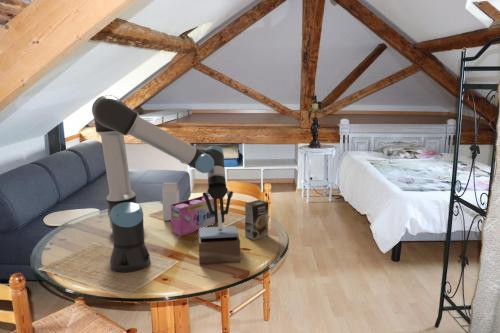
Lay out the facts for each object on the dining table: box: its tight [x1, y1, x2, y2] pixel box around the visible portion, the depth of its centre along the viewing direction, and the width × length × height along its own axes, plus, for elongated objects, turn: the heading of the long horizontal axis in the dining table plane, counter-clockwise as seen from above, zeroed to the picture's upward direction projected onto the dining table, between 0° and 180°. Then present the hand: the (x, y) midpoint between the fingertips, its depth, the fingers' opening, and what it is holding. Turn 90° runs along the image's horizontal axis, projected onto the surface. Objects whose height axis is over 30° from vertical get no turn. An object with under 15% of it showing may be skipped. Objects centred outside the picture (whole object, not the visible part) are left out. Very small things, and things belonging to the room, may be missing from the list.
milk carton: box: [161, 182, 180, 222], centre depth 211 cm, size 7×7×19 cm
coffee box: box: [244, 199, 269, 241], centre depth 188 cm, size 9×6×16 cm
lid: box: [200, 225, 240, 239], centre depth 167 cm, size 14×15×1 cm
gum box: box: [171, 194, 216, 237], centre depth 200 cm, size 24×8×14 cm, turn 136°
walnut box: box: [198, 227, 241, 266], centre depth 168 cm, size 14×16×9 cm
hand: (220, 229), depth 165 cm, fingers closed
